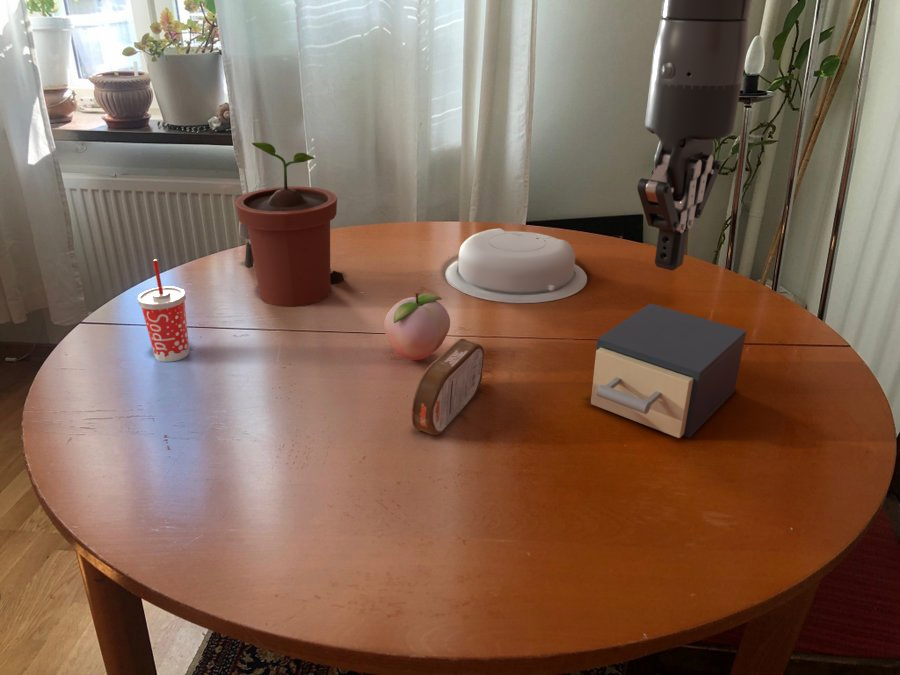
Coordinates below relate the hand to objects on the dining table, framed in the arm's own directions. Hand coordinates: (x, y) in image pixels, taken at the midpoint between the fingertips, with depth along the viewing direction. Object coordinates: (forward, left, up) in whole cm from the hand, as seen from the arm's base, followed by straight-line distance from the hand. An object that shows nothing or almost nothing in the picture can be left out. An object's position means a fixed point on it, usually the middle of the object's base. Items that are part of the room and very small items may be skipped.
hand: (668, 266), depth 71 cm
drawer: (+4, -10, -22) cm, 25 cm away
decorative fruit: (+35, -2, -23) cm, 42 cm away
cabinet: (+4, -14, -23) cm, 27 cm away
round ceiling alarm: (+43, -37, -23) cm, 61 cm away
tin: (+22, +6, -23) cm, 33 cm away
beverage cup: (+62, +19, -23) cm, 69 cm away
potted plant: (+69, -8, -23) cm, 73 cm away
